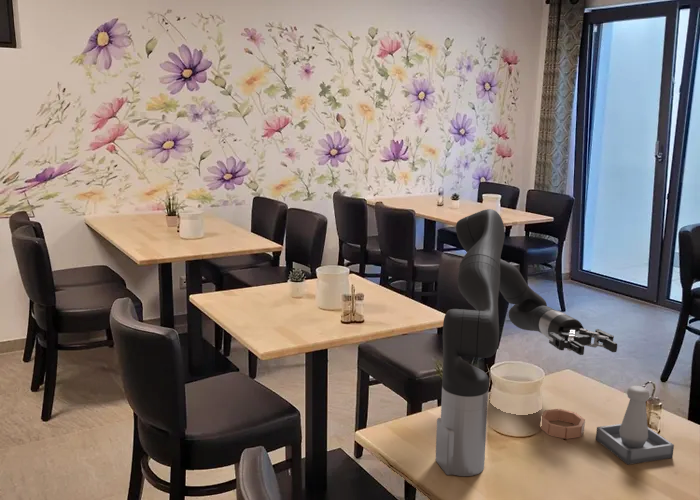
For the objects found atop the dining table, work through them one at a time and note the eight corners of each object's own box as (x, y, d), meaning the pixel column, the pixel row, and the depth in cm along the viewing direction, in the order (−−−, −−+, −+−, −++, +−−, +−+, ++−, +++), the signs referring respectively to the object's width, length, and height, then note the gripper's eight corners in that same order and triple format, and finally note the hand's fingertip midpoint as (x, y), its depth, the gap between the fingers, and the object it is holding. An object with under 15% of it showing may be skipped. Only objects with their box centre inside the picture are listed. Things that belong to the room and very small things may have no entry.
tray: (627, 464, 141) (629, 451, 140) (595, 439, 151) (596, 427, 151) (672, 457, 144) (674, 444, 143) (638, 433, 154) (639, 421, 153)
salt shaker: (616, 446, 146) (622, 390, 143) (619, 435, 151) (625, 380, 148) (645, 453, 144) (652, 395, 141) (648, 441, 149) (654, 385, 146)
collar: (554, 440, 151) (555, 430, 150) (533, 421, 159) (533, 411, 159) (591, 435, 153) (592, 425, 153) (568, 417, 162) (568, 407, 161)
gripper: (535, 315, 168) (573, 335, 152) (586, 312, 171) (627, 331, 156) (533, 344, 169) (570, 367, 154) (584, 340, 173) (624, 362, 157)
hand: (599, 349), depth 155 cm, fingers open, 8 cm apart
